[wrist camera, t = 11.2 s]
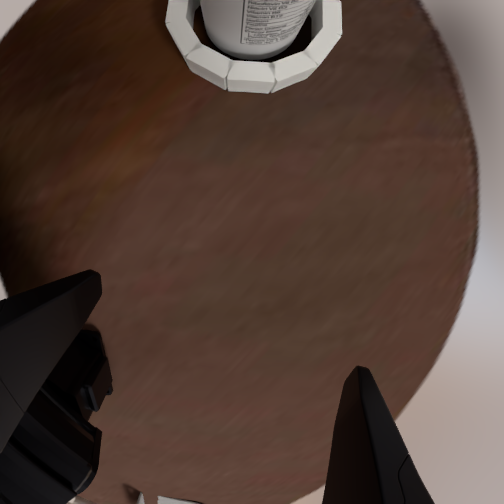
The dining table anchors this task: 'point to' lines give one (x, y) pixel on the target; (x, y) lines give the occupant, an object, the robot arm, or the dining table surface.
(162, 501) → the bracket
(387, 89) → the dining table surface
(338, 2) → the socket collar
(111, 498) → the dining table surface
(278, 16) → the energy drink can
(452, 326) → the dining table surface
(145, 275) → the dining table surface
